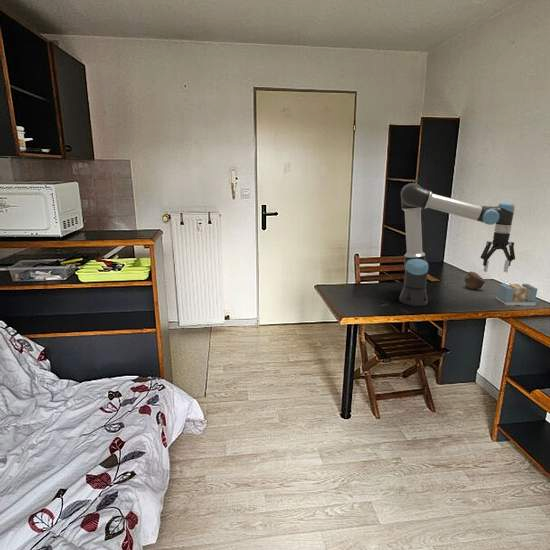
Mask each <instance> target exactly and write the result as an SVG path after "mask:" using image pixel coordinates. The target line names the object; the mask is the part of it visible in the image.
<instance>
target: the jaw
mask: <svg viewBox="0 0 550 550" xmlns="http://www.w3.org/2000/svg"><path fill="white" fill-rule="evenodd" d="M513 291H514V290H513V288H511V287H509V285H507V284H505V283H499V285H498V291H497V295H496V296H498V297H499V298H501V299H502V300H504V301H505V302H506V301H511V300H512V297H513Z"/></svg>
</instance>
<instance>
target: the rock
mask: <svg viewBox="0 0 550 550" xmlns="http://www.w3.org/2000/svg"><path fill="white" fill-rule="evenodd" d="M464 282H465V284H466V285H465V287H466V289H470V290H479V289H482V287H483V286H484V284H485V282H486V281H485V279H484V278H482V276H481V275H479V274H478V273H476V272H474V271H468V272H467V275H466V276H465V279H464Z"/></svg>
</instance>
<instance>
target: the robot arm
mask: <svg viewBox="0 0 550 550" xmlns="http://www.w3.org/2000/svg"><path fill="white" fill-rule="evenodd" d="M400 201H401V202H400V203H401V210H402V211H404V222H405V223H404V224H405V225H404V227H405V244H406V253H405V254H404V256H403V257H404V258H403V259H404V264H403V265H404V266H403V268H404V279H403V280H404V281H403V288H402V290H401V292H400V295H399V296H398V298H399V299H398V300H399V302H401V304H404V305H407V306H412V307H421V306H426V305H428V301H429V300H428V295H427V282H428V281H427V280H428V272H429V263H428V261H427V260H426V253H425V252H424V251H423V235H422V234H423V233H422V230H423V229H422V209H428V208H429V209H432V210H435V211H440V212H442V213H446V214H449V215H450V214H451V215H454V216H457V217H461V218H466V219H469V220H473V221H477V222H481V223H482V224H483V223H484V224H485V225H490V226H492V225H495V226H494V232H493V237H492V239H493V240H492V241H488V240H487V241H486V245H485V247H484V248H483V249H484V250H482V253H481V255H480V256H479V258H480V259H481V260H483V263H482V265H483V272H484V273H488V270H489V269H488V268H489V264H490V263H489V262H490V261H489V259H490V258H491V256H492V255H493V254H494V253H495V252H496V251H497V250H502V251H503V254H504V256H505V258H506V259H505V260H504V266H503V272H504V273H508V271H509V267H510V266H511V263H512V261H513V260H516V255H515V248H514V247H515V242H513V241H509V240H510V237H511V236H510V235H511V233H510V232H511V231H512V223H513V218H514V215H515V203H510V202H499V204H498V206H491V205H490V206H487V205H485V206H484V205H478V204H474V203H470V202H466V201H463V200H460V199H456V198H455V199H454V198H451V197H448V196H443V195H439V194H436V193H433V192H432V190H429V189H426V188H424V187H421V185H419V183H416V182H412V183H411V182H410V183H407V184H404V186H403V187H402V188H401V191H400Z"/></svg>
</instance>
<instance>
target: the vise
mask: <svg viewBox="0 0 550 550" xmlns="http://www.w3.org/2000/svg"><path fill="white" fill-rule="evenodd" d="M521 286H523V287H525V288H527V289H526V294H525V299H524V302H515V301H512V300H511V301H506V302H505V301H504V300H502V299H501V298H499V297H498V296H497V295H495V296H496V297H495V299H496V300H497V299H498V300H497V301H499V302H500V301H501V302H500V303H501V304H503V303H504V304H503V305H505V304H506V305H505V306H514V305H520V306H521V305H522V307H523V306H525V307H535V306H536V304H537V302H536V298H537V294H538V293H537V292H538V288H536V287H534V286H532V285H531V284H529V283H522V284H521Z"/></svg>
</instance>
